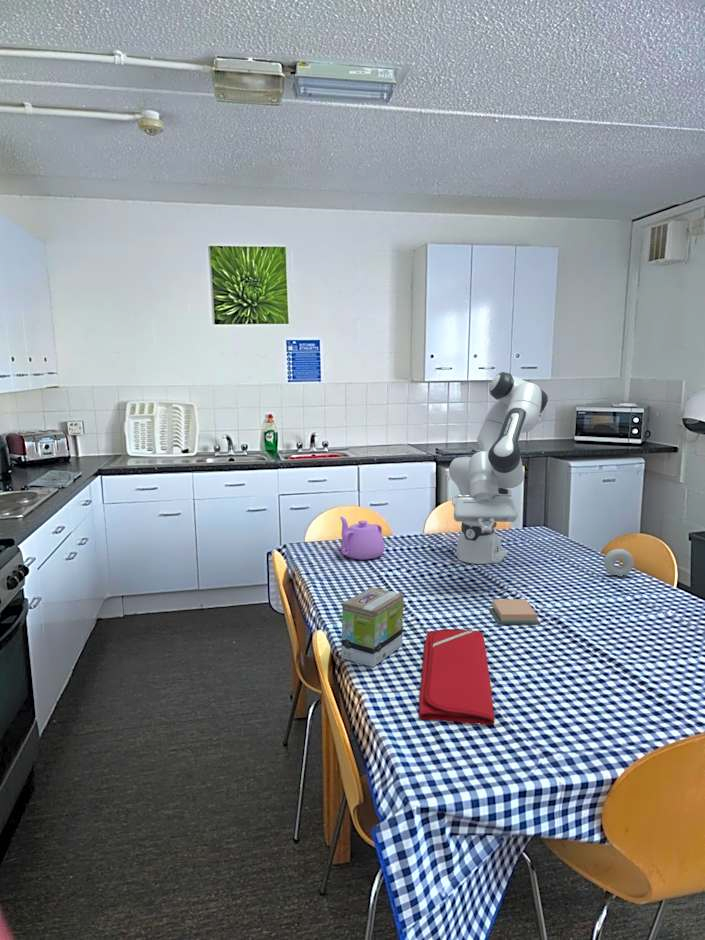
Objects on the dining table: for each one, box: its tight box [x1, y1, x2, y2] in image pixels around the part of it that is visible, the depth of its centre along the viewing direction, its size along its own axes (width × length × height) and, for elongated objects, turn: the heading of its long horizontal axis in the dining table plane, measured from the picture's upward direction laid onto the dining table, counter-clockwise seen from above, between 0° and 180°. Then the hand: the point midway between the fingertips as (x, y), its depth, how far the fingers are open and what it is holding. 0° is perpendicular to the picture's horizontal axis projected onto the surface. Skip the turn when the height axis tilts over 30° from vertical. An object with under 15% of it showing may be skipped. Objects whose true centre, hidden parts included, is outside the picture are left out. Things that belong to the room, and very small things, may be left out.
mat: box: [489, 607, 541, 625], centre depth 184 cm, size 11×12×1 cm
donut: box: [603, 548, 635, 577], centre depth 220 cm, size 10×4×10 cm, turn 84°
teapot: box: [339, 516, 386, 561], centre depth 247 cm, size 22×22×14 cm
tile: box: [491, 598, 538, 623], centre depth 185 cm, size 2×10×12 cm
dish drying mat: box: [418, 628, 496, 726], centre depth 149 cm, size 16×41×4 cm, turn 171°
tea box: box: [340, 587, 404, 668], centre depth 160 cm, size 15×10×15 cm, turn 148°
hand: (486, 532), depth 199 cm, fingers closed
